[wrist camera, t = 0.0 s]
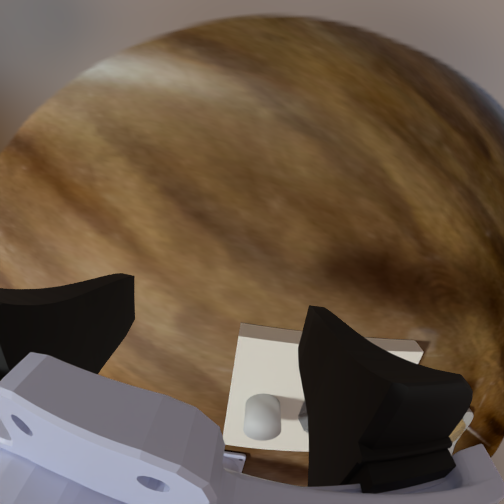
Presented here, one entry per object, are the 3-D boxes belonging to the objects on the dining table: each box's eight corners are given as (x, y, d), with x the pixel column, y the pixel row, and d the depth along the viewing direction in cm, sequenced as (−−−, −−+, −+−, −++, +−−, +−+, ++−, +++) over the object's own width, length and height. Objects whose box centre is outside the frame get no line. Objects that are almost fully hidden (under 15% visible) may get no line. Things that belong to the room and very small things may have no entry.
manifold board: (363, 437, 26) (372, 469, 22) (223, 430, 26) (218, 466, 22) (414, 340, 23) (438, 371, 18) (240, 322, 23) (234, 359, 18)
